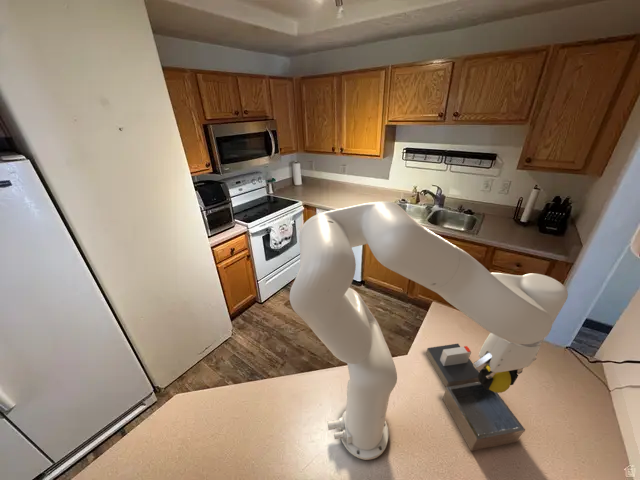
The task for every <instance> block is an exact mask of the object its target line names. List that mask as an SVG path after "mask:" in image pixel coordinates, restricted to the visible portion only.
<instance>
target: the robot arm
mask: <svg viewBox="0 0 640 480" xmlns="http://www.w3.org/2000/svg"><path fill="white" fill-rule="evenodd" d="M364 245H368V247H369V250H370V251H371V254H372V255H373V257H374V258H375V259H376V261H377V262H378V263H380V264H381V266H383V267H385V268H387V269H388V270H390V271H392V272H394V273H396V274H398V275H400V276H402V277H404V278H406V279H408V280H410V281H412V282H414V283H416V284H418V285H420V286H423V287H424V288H425V289H428V290H430V291H432V292H434V293H436V294H437V295H439V296H440V297H441V298H443V300H445V301H446V302H447V303H448V304H450V305H451V306H452V307H454V308H456V309H457V310H458V311H460V312H461V313H463V315H465V316H466V317H468V318H469V319H470V320H472V321H473V322H474V323H475V324H477V325H478V326H480V327H481V328H483V329H485V330H486V331H487V332H489V334H488V336H487V337H486V338H485V340H484V342H483V343H482V345H481V348H480V349H479V352H478V357H479V359H477V360H476V361H474V362H472V363H473V366H474V367H475V369H476V370H478V371H479V375H478V380H479V382H480V383H481V384H482V385H483V386H484V388H485V389H489V388H490V386H491V384H492V382H493V378H492V377H493V376H494V375H495V374H496V373H497V372H504V371H509V373H510V376H511V384H510V386H514V384H515V383H516V381H517V379H518V377H519V375H520V374H522V373H523V372H524V369H526V368H529V367H530V366H531V365H532V364H533V362H534V361H536V360H537V355H538V353H539V351H540V348H541V347H542V344H543V341H544V340H545V338H546V337H548V335H549V334H550V332H551V331H552V327H553V324H554V323H555V321H556V319H557V317H558V316H559V314H560V312H561V310H562V309H563V307H564V305H565V304H566V301H567V299H568V297H569V293H568V289H567V287H566V286H565V285H564V284H562V282H560V281H558V280H557V279H556V278H553V277H551V276H549V275H545V274H541V273H526V274H523V275H519V274H518V275H517V274H510V273H503V272H502V273H501V272H491V271H489V270H488V268H486V267H485V266H484V265H483V264H482V263H481V262H479V261H478V260H477V259H476V258H474V257H473V256H472V255H470V253H468V252H466V251H465V249H462V248H460V247H458V246H457V245H455V244H453V243H452V242H450V241H448V240H447V239H445V238H444V237H442V236H440V235H438V234H437V233H435V232H434V231H432V230H430V229H429V228H427V227H425V226H424V225H422V224H421V223H419V222H418V221H416V220H415V219H414V218H412V216H410V214H409V213H408V212H407V211H405V209H404V208H402V207H401V206H400V205H399V204H397V203H396V202H393V201H387V200H383V201H381V200H380V201H372V202H366V203H361V204H357V205H352V206H351V205H350V206H347V207H343V208H337V209H332V210H328V211H323V212H320V213H316V214H314V215H312V216H311V217H309V218H308V219H307V220H306V221H305V222H304V223H303V224H302V227H301V229H300V231H299V254H300V255H299V261H300V265H299V269H298V272H297V274H296V276H295V279H294V281H293V282H292V284H291V287H290V290H289V303H290V306H291V308H292V310H293V311H294V313H295V314H296V315H297V316H298V317H299V318H300V319H301V320H302V321H303V322H304V323H305V324H306V325H307V326H308V328H310V330H311V331H312V332H313V334H314V335H315V336H316V337H317V338H318V339H319V340H320V341H321V343H322V344H323V345H324V346H325V347H326V349H328V351H330V353H331V354H332V355H333V357H335V358H336V359H337V360H339V361H341V362H343V363H346V365H347V370H348V377H349V378H348V381H347V385H346V406H345V410H344V412H343V413H342V415H341V417H338V419H336V420H335V419H333V420H332V419H331V420H328V421H327V422H326V423H327V431H333V430H336V429H337V430H338V429H339V431H336V432H333V438H334V440H341V442H342V444H343V446H344V448H345V449H346V450H347V451H348V452H349V454H351V455H353V457H355V458H358V459H361V460H366V461H369V460H374V459H376V458H379V457H380V456H381V455H382V454H383V453H384V452H385V450H386V449H387V446H388V442H389V427H388V424H387V421H386V416H387V413H388V412H387V411H388V406H389V401H390V396H391V393H392V392H393V390H394V389H395V387H396V385H397V382H398V372H397V368H396V364H395V361H394V359H393V355H392V354H391V351H390V349H389V346H388V344H387V342H386V339H385V337H384V336H385V335H384V334H383V332H382V329H381V326H380V324H379V322H378V320H377V319H376V317H375V316H374V314H373V313H372V311H371V310H370V308H369V307H368V305H367V304H366V302H365V301H364V299H363V297H362V296H361V295H360V294H359V293H358V292H357V291H356V290H355V289H353V288H352V287H351V286H352V283H353V281H354V279H355V275H356V265H357V264H356V263H357V262H356V256H355V253H354V251H353V248H355V247H360V246H364ZM487 366H489V367H490V372H489V371H488V369H487V368H486V367H487Z"/></svg>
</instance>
